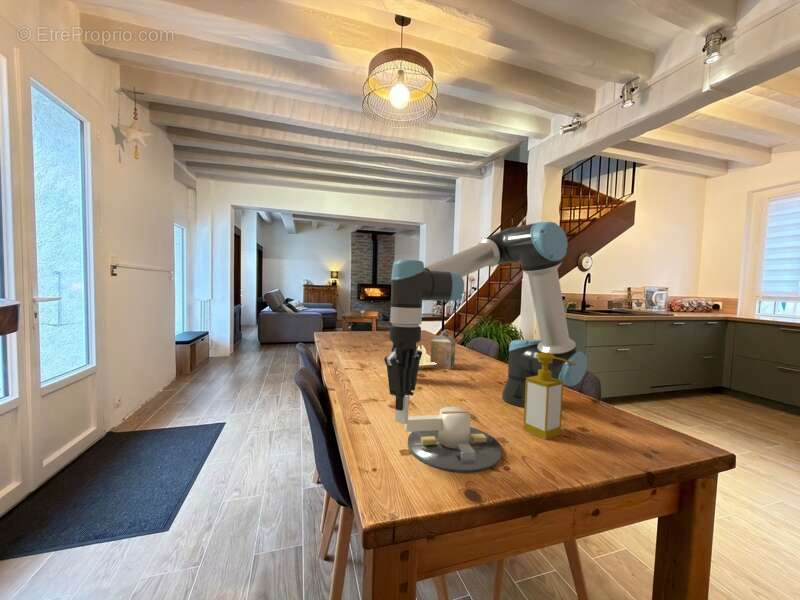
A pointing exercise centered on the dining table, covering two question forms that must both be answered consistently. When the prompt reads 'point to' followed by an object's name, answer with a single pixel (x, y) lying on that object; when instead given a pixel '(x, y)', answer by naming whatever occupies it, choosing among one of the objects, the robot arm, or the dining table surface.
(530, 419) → the soap bottle
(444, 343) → the milk carton
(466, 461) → the post base
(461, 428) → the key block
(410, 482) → the dining table surface
